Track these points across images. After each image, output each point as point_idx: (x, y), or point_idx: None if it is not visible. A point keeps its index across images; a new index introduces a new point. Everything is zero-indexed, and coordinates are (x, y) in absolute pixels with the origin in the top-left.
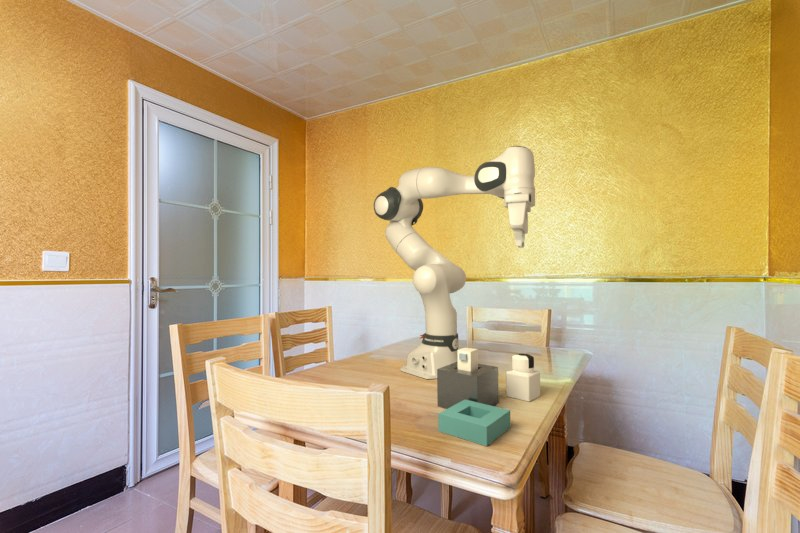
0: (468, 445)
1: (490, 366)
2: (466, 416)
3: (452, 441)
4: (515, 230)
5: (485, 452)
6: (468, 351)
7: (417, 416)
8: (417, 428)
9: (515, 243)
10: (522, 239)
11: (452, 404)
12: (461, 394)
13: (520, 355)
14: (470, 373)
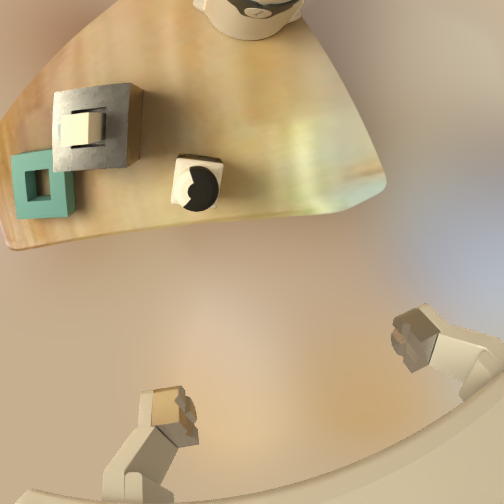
0: None
1: (121, 154)
2: (22, 186)
3: None
4: (107, 497)
5: None
6: (61, 141)
7: (38, 102)
8: (15, 129)
9: (141, 402)
10: (449, 365)
11: None
12: None
13: (187, 190)
14: (61, 153)
